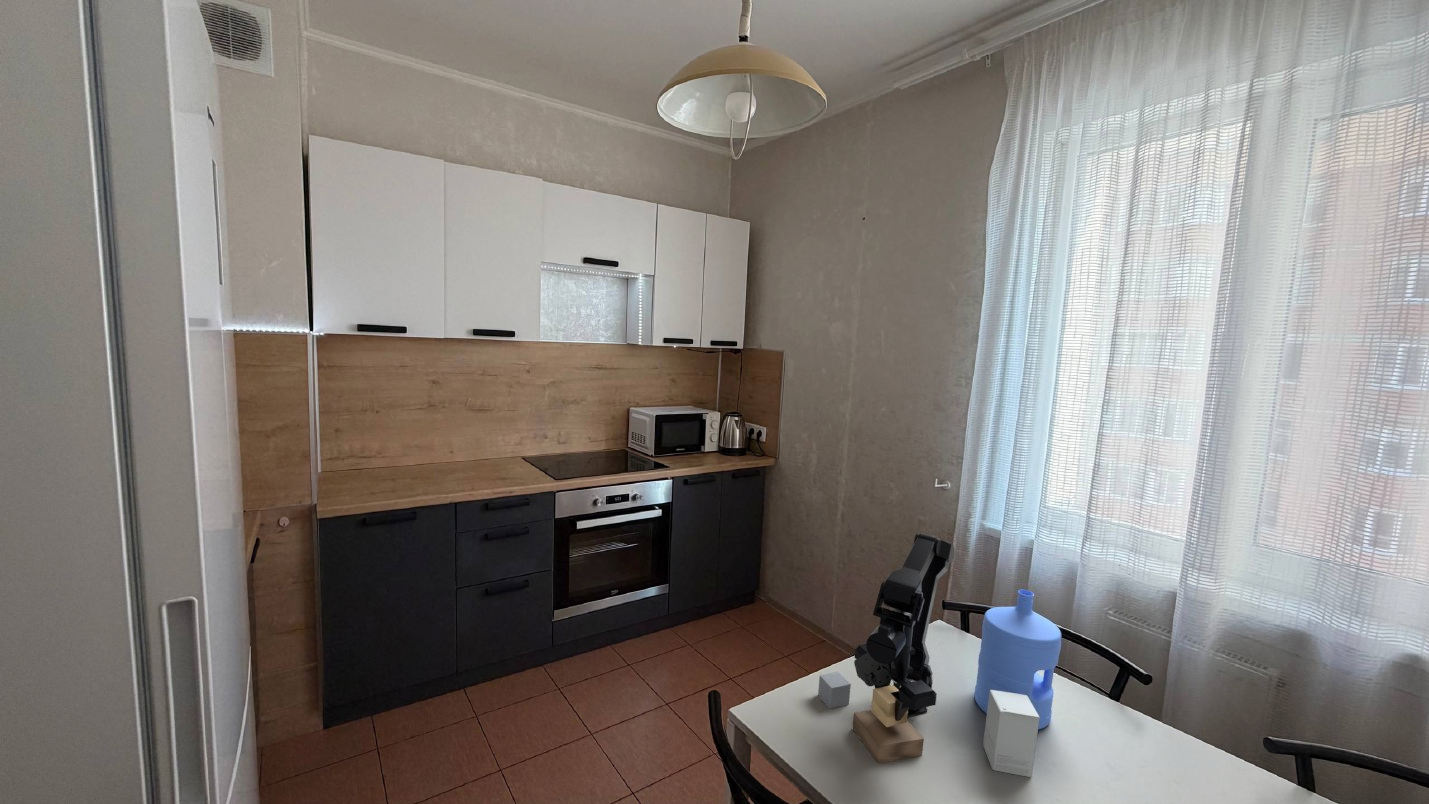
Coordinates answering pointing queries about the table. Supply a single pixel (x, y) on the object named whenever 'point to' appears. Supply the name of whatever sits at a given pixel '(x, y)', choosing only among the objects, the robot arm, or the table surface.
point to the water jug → (1018, 655)
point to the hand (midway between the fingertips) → (889, 712)
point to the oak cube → (886, 706)
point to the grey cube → (834, 690)
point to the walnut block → (887, 738)
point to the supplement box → (1011, 733)
